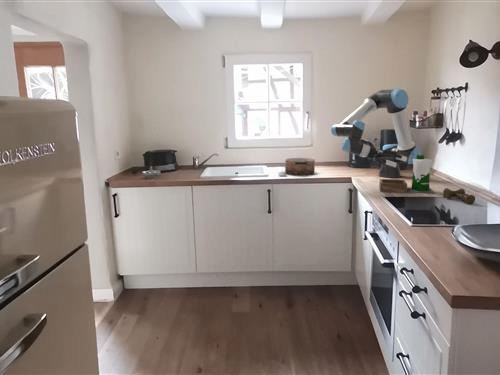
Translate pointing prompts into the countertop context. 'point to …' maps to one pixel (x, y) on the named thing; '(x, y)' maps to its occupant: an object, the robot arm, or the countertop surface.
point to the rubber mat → (419, 191)
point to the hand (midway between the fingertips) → (401, 162)
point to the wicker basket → (299, 166)
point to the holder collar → (392, 185)
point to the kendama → (459, 195)
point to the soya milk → (421, 173)
